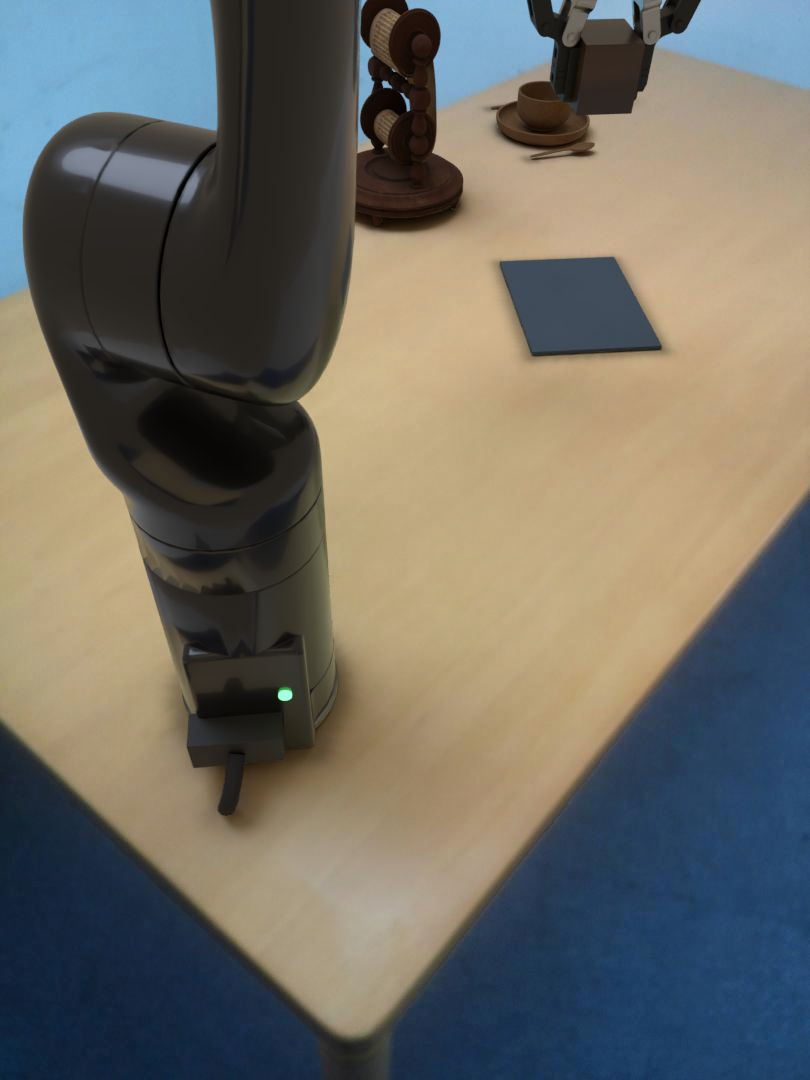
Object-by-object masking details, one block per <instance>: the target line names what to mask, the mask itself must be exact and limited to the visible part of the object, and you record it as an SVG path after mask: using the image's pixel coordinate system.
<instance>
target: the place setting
mask: <svg viewBox="0 0 810 1080" xmlns="http://www.w3.org/2000/svg"><path fill="white" fill-rule="evenodd" d="M490 109H497V110H496V114H495V120H496V124H497V127H498V129H499V130H500V131H501V132H502V133H503V134H504V135H506V136H507V137H509V138H510V139H512V140H514V141H517V142H519V143H523V144H526V145H531V146H539V147H555V146H562V145H566V144H569V143H572V142H574V141H577V140H578V139H580V138H582V136H584V135H585V134H586V132H587V131H588V129H589V127H590V123H591V119H590V115H576V114H575V113H574V111H573V109H572V108H571V106H570V104H569V103H561V101H560V100H559V98H558V96H557V94H555V92H554V90H553V89H552V87H551V83H550V80H535V81H529V82H526V83H523V84H521V85H520V86H519V87H518V91H517V99H516V100H514V101H510V102H507V103H505V104H501V105H493V106H490ZM595 145H596V143H595V142H593V141H592V142H591V141H583V142H577V143H574V144H572V145H570V146H568V147H563V148H559V149H554V150H548V151H543V152H538V153H535V154H531V155H530V156H529V157H530V158H538V157H542V156H548V155H551V154H556V153H561V152H567V151H568V152H569V151H570V152H574V153H582V152H587V151H589V150H591V149H593V148H594V147H595Z"/></svg>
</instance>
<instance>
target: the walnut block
mask: <svg viewBox="0 0 810 1080" xmlns="http://www.w3.org/2000/svg"><path fill="white" fill-rule="evenodd" d="M577 44H578V46H579V47H580V51H579V58H578V65H577V71H576V78H575V85H574V92H573V98H572V102H571V103H569V104H570V106H571V108H572V109H573V111H574V113H575V114H576V115H588V116H601V115H630V114H632V113H633V108H634V104H635V103H634V102H635V101H634V98H635V93H636V88H637V83H638V78H639V73H640V68H641V63H642V58H643V53H644V48H645V43H644V42H643V41H642V39H641V38H640V37H639V36H638V34H637V33H636V32H635V31H634V28H633V26H631V24H630V23H629V22H628V21H627V20H626V19H625V18H595V19H594V18H588V19H587V21H586V24H585V26H584V29H583V31H582V34H581V37H580V39H579V41H578V43H577Z"/></svg>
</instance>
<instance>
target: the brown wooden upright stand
mask: <svg viewBox="0 0 810 1080" xmlns="http://www.w3.org/2000/svg"><path fill="white" fill-rule="evenodd" d="M441 33H442V32H441V27H440V24H439V21H438V19H437V18H436V16H435V15H434V14H433V13H432V12H431V11H429V10H427V8H426V9H425V8H421V7H415V8H409V5H408V3H407V1H406V0H366V1H365V2H364V3H363V4H362V6H361V30H360V38H361V39H362V42H363V43H364V45H365V46H366V47H368V49H370V52H371V54H372V56H371V57H369V59H368V62H367V71H368V74H369V76H370V77H371V78H370V80H371V81H372V82H373V85H372V88H371V92H370V93H371V94H369V95H368V97H367V98H366V99H365V100H364V102H363V104H362V107H361V109H360V115H359V124H360V129H361V131H362V133H363V135H365V137H366V138H367V139H369V140H370V143H371V146H372V147H373V148H370V149H366V150H362V151H360V152H357V189H356V212H358V213H361V214H364V215H369V216H371V218H372V222H373V225H374V226H375V227H378V228H379V227H381V224H382V222H383V218H388V219H409V218H410V219H411V218H420V217H426V216H429V215H434V214H437V213H440V212H442V211H445V210H446V209H449V208H450V209H452V210H455V209H457V207H458V205H459V203H460V198H461V196H462V195H463V192H464V176H463V173H462V171H461V170H460V168H458V167H457V166H456V165H455V164H453V163H452V162H451V161H449V160H447V159H446V158H445V157H442V156H440V155H439V154H436V153H435V152H434V149H435V146H436V143H437V133H438V132H437V131H438V120H437V116H438V115H437V113H438V112H437V85H436V72H435V63H434V60H435V58H436V56H437V54H438V52H439V49H440V46H441V40H442V34H441ZM383 82H387V84H388V86H390V87H384V85H383V84H384V83H383ZM405 99H407V100H408V103H409V110H408V107H407V102H406V100H405ZM384 146H385V147H384Z"/></svg>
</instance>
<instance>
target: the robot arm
mask: <svg viewBox="0 0 810 1080" xmlns="http://www.w3.org/2000/svg"><path fill="white" fill-rule="evenodd" d="M362 1H363V0H209V5H210V6H209V7H210V16H211V18H210V19H211V26H212V27H211V28H212V37H213V49H214V64H215V86H216V87H215V89H216V130H215V129H210V128H207V127H201V126H195V125H192V124H185V123H181V122H175V121H172V120H171V121H169V120H166V119H161V118H156V117H150V116H145V115H141V114H136V113H129V112H122V111H99V112H92V113H89V114H88V113H87V114H85V115H82V116H79V117H77V118H75V119H73V120H71V121H69V122H68V123H66V124H64V125H63V126H62V127H61V128H60V129H58V130H57V132H55V133H54V135H52V137H51V138H50V139H49V140H48V142H47V143H46V144H45V145H44V147H43V148H42V150H41V151H40V153H39V154H38V156H37V159H36V161H35V163H34V164H33V168H32V171H31V174H30V176H29V180H28V184H27V188H26V193H25V195H24V196H25V197H24V201H23V210H22V252H23V253H22V254H23V261H24V268H25V273H26V280H27V284H28V290H29V294H30V297H31V301H32V304H33V308H34V312H35V315H36V318H37V321H38V324H39V327H40V330H41V333H42V335H43V339H44V341H45V344H46V346H47V349H48V352H49V355H50V357H51V359H52V362H53V365H54V367H55V370H56V372H57V375H58V377H59V380H60V382H61V384H62V387H63V389H64V392H65V395H66V397H67V399H68V402H69V404H70V407H71V409H72V413H73V414H74V417H75V419H76V422H77V425H78V427H79V430H80V432H81V436H82V437H83V440H84V442H85V445H86V447H87V449H88V452H89V454H90V456H91V458H92V459H93V461H94V463H95V464H96V466H97V468H98V469H99V470H100V472H101V473H102V474H103V475H104V477H105V478H106V479H107V480H108V481H109V482H110V483H111V484H112V485H113V486H114V487H115V488H116V489H117V490H118V491H119V492H120V493H121V494H122V497H123V499H124V503H125V506H126V509H127V512H128V515H129V519H130V521H131V525H132V529H133V532H134V535H135V538H136V542H137V545H138V550H139V553H140V556H141V559H142V563H143V566H144V570H145V572H146V575H147V580H148V583H149V586H150V589H151V592H152V593H151V594H152V596H153V599H154V603H155V606H156V610H157V613H158V616H159V619H160V623H161V627H162V629H163V630H162V631H163V633H164V637H165V640H166V643H167V646H168V650H169V653H170V657H171V659H172V663H173V666H174V670H175V672H176V676H177V679H178V683H179V685H180V689H181V696H182V700H183V701H182V702H183V705H184V708H185V711H186V714H187V717H188V722H187V733H186V735H187V738H186V749H187V753H188V756H189V758H190V762H191V766H192V768H193V769H201V768H213V767H224V766H225V773H224V779H223V784H222V785H223V786H222V791H221V796H220V799H219V801H218V804H217V812H218V813H219V815H220V816H223V817H230V816H232V815H233V814H234V813H235V812H236V809H237V807H238V804H239V802H240V801H239V800H240V796H241V792H242V791H241V790H242V785H243V778H244V777H243V776H244V770H245V769H244V768H245V765H246V764H257V763H268V762H269V763H270V762H279V761H281V762H282V761H285V759H286V755H285V753H286V751H285V750H289V749H301V748H311V747H313V746H314V745H315V742H316V739H315V735H316V734H315V733H316V729H317V728H319V726H320V725H321V724H322V723H323V721H324V720H325V719H326V718H327V716H328V714H329V713H330V712H331V710H332V708H333V705H334V704H335V701H336V698H337V693H338V686H339V674H338V665H337V660H336V655H335V653H336V652H335V640H334V628H333V627H334V626H333V613H332V600H331V599H332V598H331V585H330V584H331V583H330V569H329V555H328V539H327V527H326V526H327V524H326V508H325V507H326V506H325V490H324V476H323V462H322V450H321V449H322V448H321V443H320V437H319V434H318V433H319V432H318V430H317V427H316V425H315V423H314V420H313V419H312V417H311V416H310V414H309V413H308V411H307V409H306V408H305V407H304V405H302V404H301V402H300V400H301V399H302V398H304V397H305V396H306V395H307V394H309V393H310V392H311V391H312V390H313V389H314V387H315V386H316V385H317V384H318V382H319V381H320V379H321V377H322V376H323V374H324V373H325V371H326V369H327V368H328V366H329V364H330V362H331V359H332V357H333V354H334V352H335V349H336V346H337V344H338V340H339V338H340V335H341V330H342V325H343V322H344V318H345V314H346V309H347V306H348V305H347V304H348V298H349V291H350V287H351V286H350V284H351V277H352V270H353V269H352V266H353V258H354V247H355V246H354V245H355V232H356V212H357V211H356V189H357V153H359V151H358V150H359V149H358V147H359V146H358V145H359V142H358V141H359V110H360V109H359V108H360V107H359V104H360V70H361V69H360V66H361V35H360V30H361V10H362V4H363V3H362ZM701 2H702V0H665V1H664V3H663V0H631V13H632V28H633V30H634V31H635V32H636V33H637V34H638V36H639V37H640V38H641V39H642V41H643V42H644V43H645V48H644V53H643V58H642V63H641V68H640V73H639V78H638V83H637V88H636V93H635V98H634V102H635V101H636V100H637V98H638V94H639V93H642V92H644V90H645V89H646V87H647V85H648V81H649V77H650V72H651V66H652V62H653V56H654V52H655V49H656V44H657V43H658V42H659V41H660V39H662V38H663V37H666V36H668V35H671V34H675V35H680V34H683V33H685V31H686V30H687V29H688V27H689V25H690V23H691V21H692V20H693V17H694V16H695V13H696V11H697V9H698V7H699V5H700V3H701ZM552 3H553V2H552V0H526V5H527V9H528V15H529V20H530V22H531V24H532V25H533V27H534V28H535V30H536V32H537V34H538V35H539V36H540V37H542V38H550V39H552V40H553V49H552V55H551V56H552V58H551V65H550V72H549V81H550V83H551V87H552V89H553V90H554V92H555V94H557V96H558V98H559V100H560V101H561V103H571V102H572V98H573V92H574V85H575V78H576V71H577V65H578V58H579V51H580V47H579V46H578V44H577V43H578V41H579V39H580V37H581V34H582V31H583V29H584V26H585V24H586V21H587V19H589V17H590V14H591V13H592V12H593V11H594V9H595V8H596V5H597V3H598V0H562V2H561V5H560V8H559V11H558V13H557V12H555V11H554V8H553V4H552ZM662 3H663V5H662ZM661 5H662V7H661Z"/></svg>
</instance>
